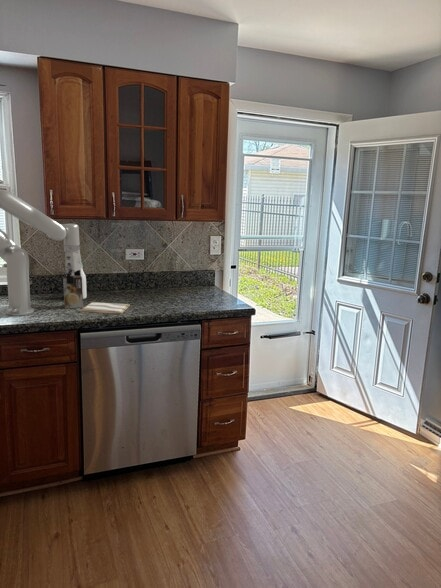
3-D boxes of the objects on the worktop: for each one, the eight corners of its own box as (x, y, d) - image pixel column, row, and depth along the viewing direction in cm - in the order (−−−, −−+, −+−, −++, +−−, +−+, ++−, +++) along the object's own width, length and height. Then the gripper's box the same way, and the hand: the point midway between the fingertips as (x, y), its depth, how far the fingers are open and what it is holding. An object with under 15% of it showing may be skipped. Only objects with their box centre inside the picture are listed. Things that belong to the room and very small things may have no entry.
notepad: (120, 314, 210) (120, 312, 210) (79, 311, 211) (79, 309, 211) (130, 305, 227) (130, 303, 226) (91, 303, 228) (91, 301, 227)
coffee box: (82, 304, 224) (81, 275, 221) (83, 307, 219) (82, 277, 215) (64, 305, 221) (62, 275, 217) (64, 308, 215) (63, 277, 211)
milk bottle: (88, 296, 241) (87, 262, 237) (84, 300, 234) (83, 264, 229) (74, 296, 241) (73, 261, 236) (70, 299, 233) (69, 263, 229)
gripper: (72, 251, 204) (74, 285, 208) (85, 246, 221) (87, 278, 225) (57, 250, 205) (59, 285, 209) (71, 246, 221) (73, 277, 226)
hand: (74, 281), depth 217 cm, fingers open, 9 cm apart
